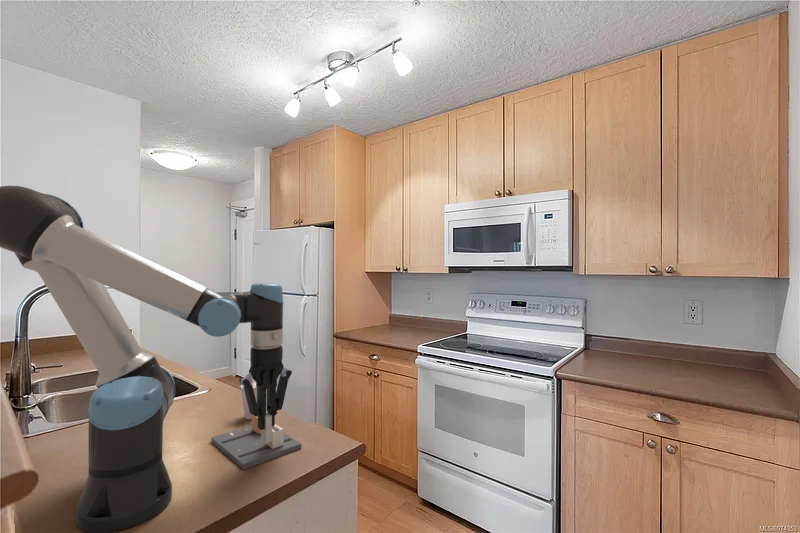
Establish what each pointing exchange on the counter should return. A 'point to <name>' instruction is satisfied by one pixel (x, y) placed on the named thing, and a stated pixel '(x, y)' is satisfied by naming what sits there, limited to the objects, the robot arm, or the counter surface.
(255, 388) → the smoothie
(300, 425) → the counter surface
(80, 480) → the counter surface
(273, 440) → the cream fader
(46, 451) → the counter surface
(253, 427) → the orange fader
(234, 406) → the counter surface
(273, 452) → the fader board
